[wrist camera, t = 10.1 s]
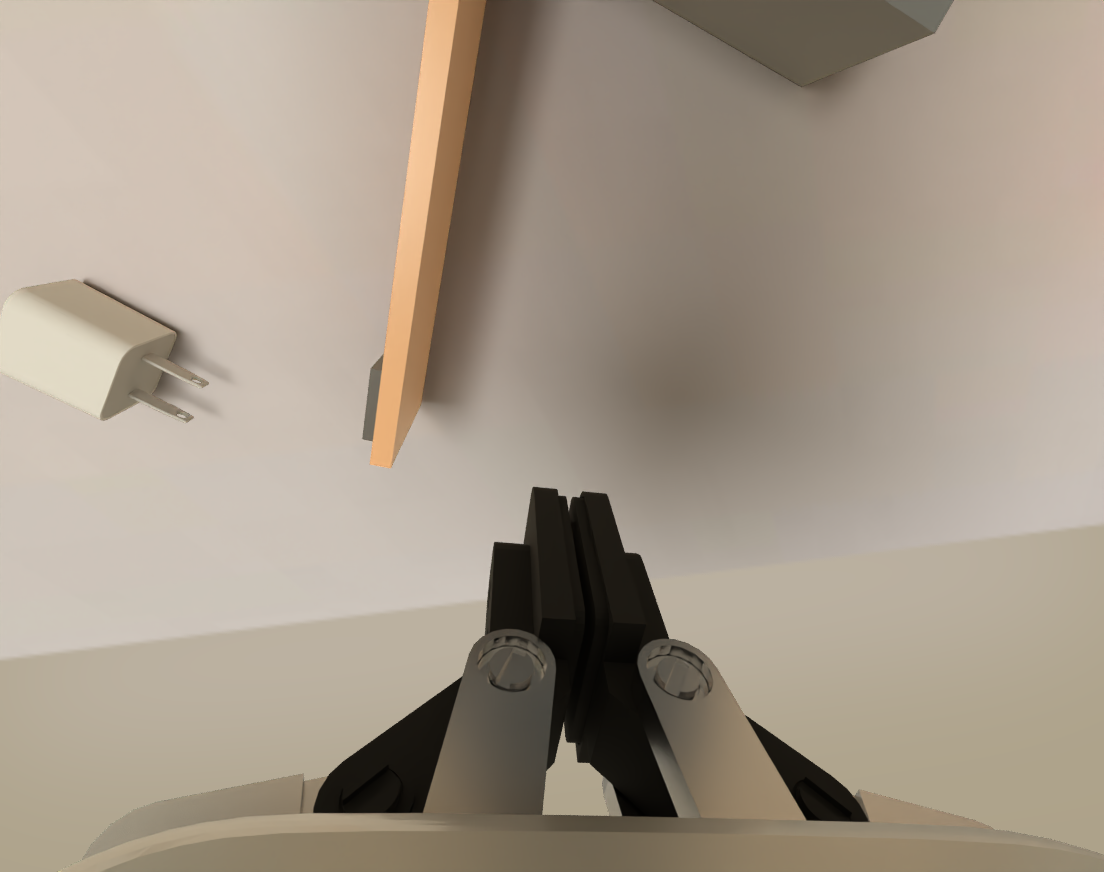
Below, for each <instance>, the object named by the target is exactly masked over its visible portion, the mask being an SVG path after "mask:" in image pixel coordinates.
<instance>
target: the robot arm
mask: <svg viewBox="0 0 1104 872" xmlns="http://www.w3.org/2000/svg"><path fill="white" fill-rule="evenodd" d="M563 723H564V726H565V737H566V741H567V742H570V743H576V752H577V762H579V763H590V764H591V765H592V766H593V767H594V768H595V769H596V770H597V771H598V772H599V773H600V774H601V775H602V776H603V781H602V786H603V793H604V798H605V802H606V805H607V808H608V812H609V816H578V815H577V816H576V815H542V810H543V799H544V790H545V779H546V771H547V769H549V768H550V767H551V766H552V764H553V763H554V762H555V757H556V753H557V748H558V744H559V740H560V736H561V732H562V727H563ZM57 872H1104V855H1102V854H1100V853H1097V852H1094V851H1091V850H1088V849H1084V848H1081V847H1077V846H1073V845H1070V844H1067V843H1063V842H1060V841H1056V840H1052V839H1049V838H1043V837H1038V836H1032V835H1027V834H1021V833H1016V832H1010V831H1004V830H995V829H993V828H992V827H990V826H987V825H985V824H983V823H980V822H978V821H976V820H973V819H969V818H965V817H962V816H958V815H954V814H950V813H946V812H943V811H938V810H935V809H931V808H927V807H923V806H920V805H916V804H912V803H908V802H904V801H901V800H897V799H893V798H890V797H886V796H882V795H878V794H875V793H870V792H867V791H863V790H858V792H857V793H856V795H855V796H854V795H852V794H851V793H850V792H849V791H848V789H847V788H845V787H844V786H843V785H842V784H841V783H839V782H838V781H837V780H836V779H835V778H833V777H832V776H831V775H830V774H828V773H827V772H825V771H824V770H822V769H821V768H820V767H818V766H817V765H815V764H814V763H813V762H811V761H810V760H808V759H807V758H805V757H804V756H803V755H801V754H800V753H798V752H797V751H796V750H794V749H792V748H791V747H790V746H788V745H787V744H786V743H784V742H782V741H781V740H780V739H778V738H777V737H776V736H774V735H773V734H771V733H770V732H768V731H767V730H766V729H764V728H763V727H761V726H760V725H758V724H757V723H756V722H754V721H753V720H751V719H750V718H749V717H747V716H746V715H744V713H743V711H742V710H741V708H740V706H739V705H738V703H737V701H736V699H735V698H734V696H733V694H732V693H731V691H730V689H729V688H728V686H727V684H726V683H725V681H724V679H723V677H722V676H721V674H720V672H719V671H718V669H717V668H716V666H715V665H714V664H713V662H712V661H711V660H710V659H709V658H708V657H707V656H706V655H705V654H704V653H703V652H701V651H700V650H699V649H697V648H695V647H693V646H691V645H690V644H688V643H685V642H681V641H678V640H675V639H669V637H668V634H667V631H666V628H665V625H664V622H663V619H662V616H661V613H660V610H659V608H658V605H657V602H656V599H655V596H654V593H653V590H652V587H651V584H650V581H649V578H648V575H647V572H646V569H645V566H644V563H643V561H642V558H641V556H640V555H639V554H636V553H625V552H624V548H623V545H622V542H621V538H620V535H619V532H618V528H617V525H616V522H615V518H614V515H613V512H612V508H611V505H610V502H609V498H608V496H607V494H604V493H593V492H582V493H581V495H580V498H579V497H573V498H572V500H571V504H570V509H569V510H568V504H567V498H566V496H558V490H557V489H551V488H540V487H533V488H532V493H531V499H530V505H529V512H528V518H527V525H526V532H525V538H524V544H514V543H502V542H494V547H493V554H492V562H491V570H490V579H489V589H488V600H487V613H486V628H485V636H483V637H482V638H480V639H479V640H478V641H477V642H476V643H475V644H474V646H473V648H472V649H471V652H470V653H469V657H468V660H467V663H466V666H465V670H464V673H463V676H462V677H461V678H459V679H458V680H457V681H455V682H454V683H453V684H451V685H450V686H448V687H447V688H446V689H444V690H443V691H441V692H440V693H438V694H437V695H436V696H434V697H433V698H431V699H430V700H429V701H427V702H426V703H424V704H423V705H422V706H420V707H419V708H417V709H416V710H415V711H414V712H412V713H410V714H409V715H408V716H406V717H405V718H403V719H402V720H401V721H399V722H398V723H396V724H395V725H394V726H392V727H391V728H389V729H388V730H387V731H385V732H384V733H382V734H381V735H380V736H378V737H377V738H375V739H374V740H373V741H371V742H370V743H368V744H367V745H366V746H364V747H363V748H361V749H360V750H359V751H357V752H356V753H354V754H353V755H352V756H350V757H349V758H347V759H346V760H345V761H343V762H342V763H341V764H340V765H339V766H338V767H337V768H336V769H335V770H333V771H332V772H331V773H330V774H329V776H327V777H322V778H317V779H312V780H307V781H304V774H299V775H293V776H288V777H283V778H278V779H273V780H268V781H263V782H257V783H252V784H247V785H242V786H237V787H231V788H226V789H221V790H216V791H211V792H206V793H201V794H195V795H190V796H185V797H179V798H174V799H169V800H164V801H159V802H155V803H152V804H149V805H146V806H143V807H140V808H137V809H135V810H133V811H131V812H129V813H128V814H126V815H125V816H123V817H122V818H120V819H119V820H117V821H115V822H114V823H112V824H111V825H110V826H109V827H108V828H107V829H106V830H105V831H104V832H103V833H102V834H101V835H100V836H99V837H98V838H97V839H96V840H95V841H94V842H93V843H92V844H91V845H90V847H89V849H88V850H87V852H86V854H85V856H84V857H83V859H82V860H80V861H78V862H76V863H74V864H72V865H70V866H68V867H66V868H64V869H62V870H60V871H57Z"/></svg>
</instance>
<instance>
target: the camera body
mask: <svg viewBox="0 0 1104 872" xmlns="http://www.w3.org/2000/svg"><path fill="white" fill-rule="evenodd" d="M654 1H655V2H657V3H659V4H660V5H662V6H664V7H665V8H667V9H669V10H671V11H672V12H674V13H676V14H677V15H679V16H681V17H683V18H684V19H686V20H688V21H689V22H691V23H693V24H695V25H696V26H698V27H700V28H701V29H703V30H705V31H707V32H708V33H710V34H712V35H713V36H715V37H717V38H719V39H720V40H722V41H724V42H725V43H727V44H729V45H731V46H732V47H734V48H736V49H737V50H739V51H741V52H743V53H744V54H746V55H748V56H749V57H751V58H753V59H755V60H756V61H758V62H760V63H761V64H763V65H765V66H767V67H768V68H770V69H772V70H773V71H775V72H777V73H779V74H780V75H782V76H784V77H785V78H787V79H789V80H790V81H792V82H794V83H796V84H797V85H799V86H801V87H802V86H805V85H807V84H810V83H812V82H815V81H817V80H819V79H822V78H824V77H827V76H829V75H832V74H834V73H837V72H839V71H842V70H844V69H847V68H849V67H852V66H854V65H857V64H859V63H862V62H864V61H867V60H869V59H872V58H874V57H877V56H879V55H882V54H884V53H887V52H889V51H892V50H894V49H897V48H899V47H902V46H904V45H907V44H909V43H912V42H914V41H917V40H919V39H922V38H924V37H927V36H929V35H932V34H934V33H935V32H936V30H937V28H938V27H939V25H940V23H941V22H942V20H943V18H944V16H945V15H946V13H947V11H948V10H949V8H950V6H951V4H952V3H953V1H954V0H654Z"/></svg>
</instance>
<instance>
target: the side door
mask: <svg viewBox="0 0 1104 872" xmlns="http://www.w3.org/2000/svg"><path fill="white" fill-rule="evenodd" d="M485 5H486V0H429V5H428V13H427V20H426V28H425V36H424V44H423V52H422V60H421V67H420V75H419V83H418V91H417V99H416V107H415V114H414V122H413V130H412V138H411V146H410V154H409V161H408V169H407V177H406V185H405V193H404V201H403V209H402V216H401V224H400V232H399V240H398V248H397V256H396V263H395V271H394V279H393V287H392V295H391V303H390V310H389V318H388V326H387V334H386V342H385V350H384V354H383V355H382V356H381V358H380V359H379V360H378V361H377V362H376V363H375V364H374V366H373V367H372V368H371V371H370V379H369V387H368V396H367V404H366V413H365V421H364V430H363V438H362V439H364V440H369V441H373V444H372V452H371V459H370V464H371V465H376V466H381V467H387V468H391V467H392V465H393V463H394V460H395V458H396V456H397V454H398V452H399V450H400V448H401V446H402V444H403V442H404V439H405V437H406V435H407V433H408V431H409V429H410V427H411V425H412V423H413V421H414V418H415V416H416V414H417V412H418V410H419V408H420V406H421V401H422V395H423V389H424V383H425V376H426V370H427V364H428V358H429V352H430V345H431V339H432V333H433V327H434V321H435V315H436V308H437V302H438V296H439V290H440V284H441V277H442V271H443V265H444V259H445V253H446V246H447V240H448V234H449V228H450V222H451V216H452V209H453V203H454V197H455V191H456V185H457V178H458V172H459V166H460V160H461V154H462V148H463V141H464V135H465V129H466V123H467V117H468V110H469V104H470V98H471V92H472V86H473V79H474V73H475V67H476V61H477V55H478V49H479V42H480V36H481V30H482V24H483V18H484V11H485Z"/></svg>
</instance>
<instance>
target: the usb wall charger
mask: <svg viewBox="0 0 1104 872" xmlns="http://www.w3.org/2000/svg"><path fill="white" fill-rule="evenodd" d="M176 338H177V334H176V332H175V331H173V330H171V329H169V328H167V327H165V326H163V325H161V324H159V323H157V322H156V321H154V320H152V319H150V318H148V317H146V316H144V315H142V314H140V313H139V312H137V311H135V310H133V309H131V308H129V307H127V306H125V305H123V304H122V303H120V302H118V301H116V300H114V299H112V298H110V297H108V296H106V295H104V294H103V293H101V292H99V291H97V290H95V289H93V288H91V287H89V286H87V285H86V284H84V283H82V282H80V281H78V280H76V279H72V280H66V281H60V282H54V283H49V284H43V285H37V286H32V287H26V288H21V289H19V290H17V291H15V292H14V293H12V294H11V295H10V296H9V297H8V299H7V300H6V301H5V303H4V306H3V309H2V313H1V316H0V373H2V374H4V375H6V376H8V377H10V378H12V379H15V380H17V381H19V382H21V383H23V384H25V385H27V386H29V387H32V388H34V389H36V390H38V391H40V392H42V393H44V394H47V395H49V396H51V397H53V398H55V399H57V400H59V401H62V402H64V403H66V404H68V405H70V406H72V407H74V408H77V409H79V410H81V411H83V412H85V413H87V414H89V415H92V416H94V417H96V418H98V419H100V420H102V421H105V420H108V419H109V418H111V417H113V416H115V415H117V414H119V413H121V412H123V411H125V410H126V409H128V408H130V407H132V406H134V405H136V404H138V403H142V404H144V405H146V406H148V407H150V408H152V409H154V410H156V411H159V412H161V413H163V414H165V415H167V416H169V417H172V418H174V419H176V420H178V421H181V422H183V423H187V422H189V421H190V420H192V419H193V418H194V417H193V416H192V415H190V414H188V413H186V412H185V411H183V410H181V409H179V408H177V407H175V406H173V405H171V404H169V403H167V402H165V401H163V400H161V399H159V398H157V397H155V396H153V395H151V394H152V393H153V392H154V390H155V389H156V387H157V385H158V382H159V380H160V377H161V375H162V372H163V371H165V372H167V373H169V374H171V375H173V376H175V377H177V378H178V379H180V380H183V381H185V382H187V383H189V384H191V385H193V386H196V387H198V388H203V387H205V386H206V385H208V384H209V382H207V381H206V380H204V379H202V378H200V377H198V376H197V375H195V374H193V373H191V372H190V371H188V370H186V369H184V368H182V367H180V366H178V365H176V364H174V363H172V362H170V361H168V357H169V355H170V352H171V350H172V347H173V345H174V342H175V340H176ZM191 379H194V380H198V381H200V382H201V383H196V382H194V381H192V380H191ZM176 414H182V415H184V416H186V418H181V417H178V416H177V415H176Z"/></svg>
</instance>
